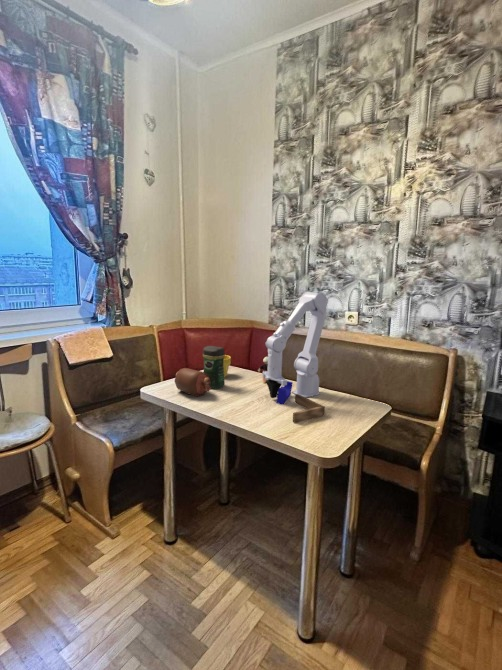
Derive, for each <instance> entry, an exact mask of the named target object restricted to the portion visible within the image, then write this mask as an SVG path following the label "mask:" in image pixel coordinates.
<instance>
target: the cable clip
mask: <svg viewBox="0 0 502 670" xmlns="http://www.w3.org/2000/svg"><path fill="white" fill-rule="evenodd" d="M292 388H293V381H289V380H287V385H284V386H280V388H279V390H278V394H277V397H276V404H278V405H282V406H284V405H285V404H286V402H287V401H288V400H289V399H290V397H291V395H292V391H293V390H292Z"/></svg>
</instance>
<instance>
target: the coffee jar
mask: <svg viewBox="0 0 502 670" xmlns="http://www.w3.org/2000/svg"><path fill="white" fill-rule="evenodd" d="M225 355H226V353H225V348H224V347H221V346H215V345H207V346H203V349H202V358H203V372H204V373H206V374H207V375H209V378H210V381H211V384H210V388H211V389H214V390H216V389H222V388H223V387H224V386H225V383H226V382H225V377H224V368H223V360H224V357H225Z"/></svg>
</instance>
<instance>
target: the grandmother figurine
mask: <svg viewBox="0 0 502 670" xmlns="http://www.w3.org/2000/svg"><path fill="white" fill-rule="evenodd" d="M262 362H263V363H264V364H261V365H259V367H258V369H257V371H258V372H259V373H260V372H261V371H262V373H263V372H265V371H267V372H268V356H265V357H264V358H263V360H262ZM266 380H268V379H266V378H265V377H263V376H262V382H261V383H262V384H265V385H267V383H266Z"/></svg>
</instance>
